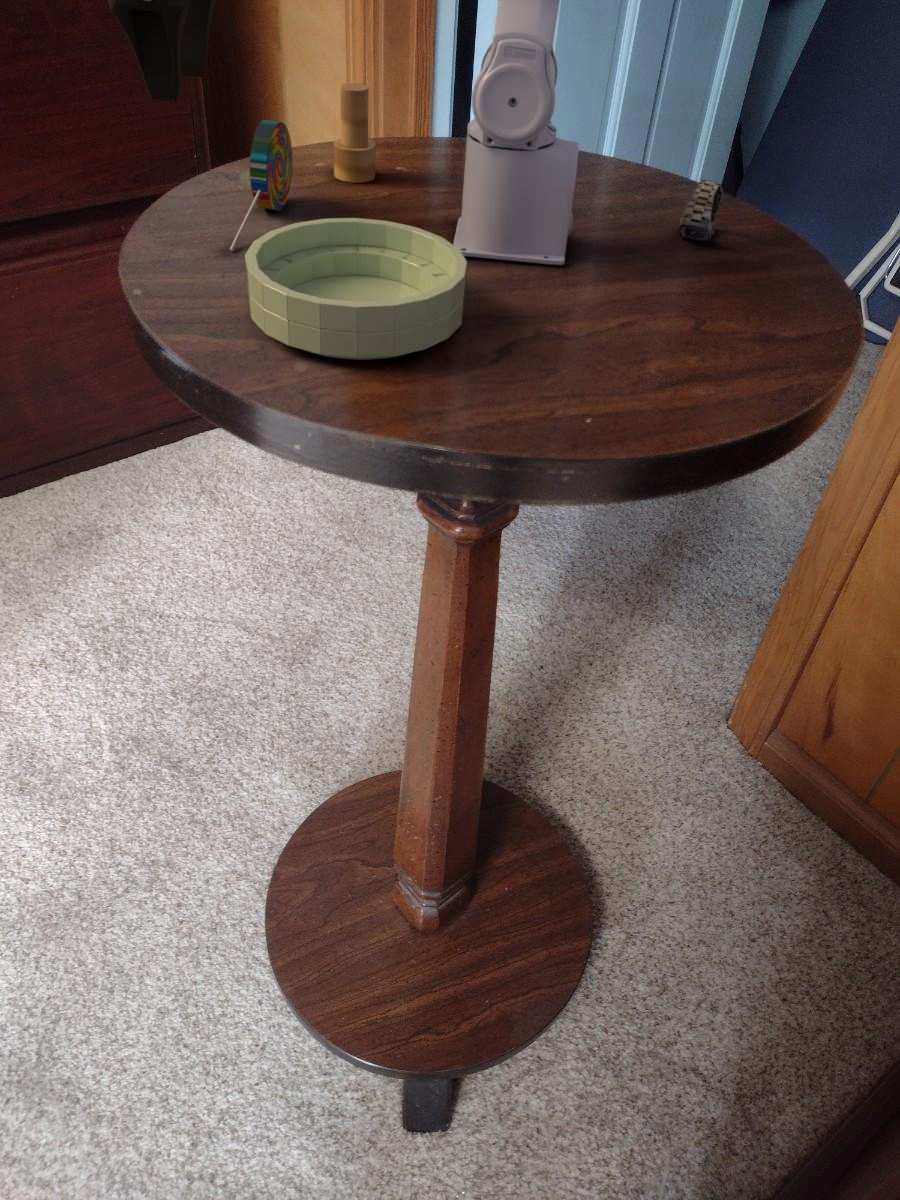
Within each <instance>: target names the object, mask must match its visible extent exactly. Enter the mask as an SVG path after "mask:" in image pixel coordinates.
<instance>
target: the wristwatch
mask: <svg viewBox="0 0 900 1200" xmlns="http://www.w3.org/2000/svg"><path fill="white" fill-rule="evenodd" d="M722 185H723V184H722V182H717V181H713V180H708V179H707V178H703V179H701V181H700V183H699V184H698V186H697V187H696V189H695V190H694V192H693V194H692V196H691V197H690V200H688V203H687V204H686V206H687V207H686V208H685V209H684V211H683V213H682V215H681V218H680V221H679V226H678V233H679V236H680V238H682V239H685V240H688V241H694V242H700V243H708V242H709V241H710V240H711V239H712V236H714V235H715V229H713V225H714V222H715V219H716V215H717V213H718V212H719V211H720V207H721V206H722V203H723V201H722V199H723V198H722V197H723V193H724V189H723V187H722Z"/></svg>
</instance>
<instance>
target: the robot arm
mask: <svg viewBox="0 0 900 1200" xmlns="http://www.w3.org/2000/svg"><path fill="white" fill-rule="evenodd" d="M216 1H217V0H108V4H109V5H108V6H109V9H110V11H111V12H112V14H113V16H114V17H115V18H116V20H117V21H118V22H119V24H120V26H121V28H122V30H123V32H124V33H125V35H126V37H127V39H128V41H129V43H130V45H131V48H132V50H133V53H134V56H135V59H136V61H137V64H138V66H139V69H140V73H141V75H142V78H143V81H144V84H145V88H146V90H147V93H148V95H149V97H150V99H151V100H156V101H166V102H178V100H179V99H180V94H181V84H182V83H181V82H182V76H186V77H197V78H198V77H199V78H203V77H204V76H205V74H206V71H207V63H208V54H209V43H210V31H211V24H212V18H213V14H214V9H215V6H216ZM560 1H561V0H498V6H497V11H496V18H495V23H494V29H493V33H492V34H493V35H492V41H491V43H490V44H489V46H488V48H486V51H485V53H484V55H483V58H482V61H481V66H480V72H479V74H478V75H477V77H476V79H475V81H474V84H473V87H472V91H471V92H472V93H471V109H472V114H473V116H474V118H473V119H472V120H470V121H469V122H468V124H467V132H466V144H465V145H466V146H465V159H464V173H463V187H462V200H461V212H460V213H461V216H460V217H458V219H457V224H456V230H455V233H454V238H453V243H452V244H453V245H454V246H456V247H457V248H458V249H460V251H461V253H462V254H463V256H464V257H466V258H467V257H469V258H478V259H487V260H488V259H489V260H497V261H499V260H500V261H510V262H519V263H521V262H522V263H531V264H539V265H540V264H542V265H551V266H563V265H565V261H566V257H565V256H566V250H567V243H568V238H569V237H568V236H570V235H571V233H572V226H573V218H574V214H573V213H574V212H572V211H573V209H572V208H573V203H574V195H575V189H576V179H577V171H578V161H579V152H580V151H579V150H580V149H579V148H580V147H579V146H580V145H579V142H578V141H574V140H568V139H564V138H563V139H562V138H560V137H557V128H556V126H555V125H553V124H552V117H553V115H554V111H555V106H556V92H555V91H556V90H555V88H556V86H557V84H556V83H557V80H558V63H557V59H556V55H555V51H554V45H553V44H554V37H555V31H556V25H557V19H558V13H559V7H560Z"/></svg>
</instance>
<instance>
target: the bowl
mask: <svg viewBox="0 0 900 1200" xmlns="http://www.w3.org/2000/svg"><path fill="white" fill-rule="evenodd" d="M244 264H245V265H244V266H245V278H246V279H245V280H246V291H247V292H246V293H247V303H248V309H249V315H250V319H251V321H252V322H254V324H255V325H256V326H257V327H258V328H259V329H260V330H261V331H262V332H263V333H264V334H265V335H266V336H268V337H270V338H272V339H274V340H276V341H278V342H280V343H282V344H284V345H286V346H288V347H291V348H296V349H300V350H301V351H305V352H307V353H311V354H315V355H317V356H318V355H319V356H323V357H327V358H334V359H342V360H356V361H357V360H360V361H362V360H363V361H364V360H366V361H367V360H381V359H382V360H383V359H390V358H396V357H401V356H405V355H408V354H412V353H415V352H420V351H424V350H427V349H429V348H432V347H433V346H436V345H437V344H439V343H441V342H443V341H446V340H448V339H449V338H451V336H452V335H453V334H454V333H455V332H456V331H457V330H458V329H459V328H460V327H461V326H462V322H463V318H464V317H463V316H464V312H465V298H466V286H467V275H468V274H467V272H468V261H467V259H466V258H465V256H463V254H462V253H461V251H460V249H458V248H457V247H456V246H454V245H453V243H451V242H450V241H449V240H447V239H446V238H444V237H442V236H441V235H438V234H435V233H433V232H430V231H427V230H425V229H422V228H420V227H417V226H412V225H409V224H403V223H400V222H394V221H390V220H381V219H373V218H372V219H371V218H360V217H336V218H335V217H334V218H333V217H332V218H319V219H313V220H307V221H300V222H294V223H291V224H288V225H284V226H282V227H279V228H276V229H273V230H269V231H268V232H266V233H265V234H263V235H262V236H260V237H258V238H257V239H255V240H253V241H252V243H251V244H250V246H249V248H248V249H247V251H246V252H245V254H244Z"/></svg>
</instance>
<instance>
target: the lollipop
mask: <svg viewBox="0 0 900 1200" xmlns="http://www.w3.org/2000/svg"><path fill="white" fill-rule="evenodd" d="M292 146H293V145H292V138H291V135H290V131H289V129H288V127H287V125H286V124H285V123H284V122H281V121H276V120H275V121H274V120H266V119H264V120H262V121H260V123H259V124H258V125H257V127H256V129H255V132H254V134H253V138H252V143H251V149H250V156H249V180H250V188H251V192H252V198H253V201H252V203H251V205H250V207H249V209H248V211H247V213H246V215H245V217H244V219H243V221H242V223H241V225H240V227H239V229H238V231H237V233H236V235H235V237H234V239H233V241H232V244H231V245H230V248H229V252H233V251H234V249H235V247H236V245H237V243H238V240H239V239H240V237H241V235H242V232H243V230H244V228H245V226H246V225H247V222H248V220H249V218H250V216H251V214H252V211H253V210H254V208H255V205H256V206H257V207H259V209H263V210H271V211H281V210H282V209H283V208H284V206H285V205H286V202H287V200H288V197H289V194H290V191H291V185H292V177H293V164H294V163H293V159H294V158H293V147H292Z"/></svg>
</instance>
